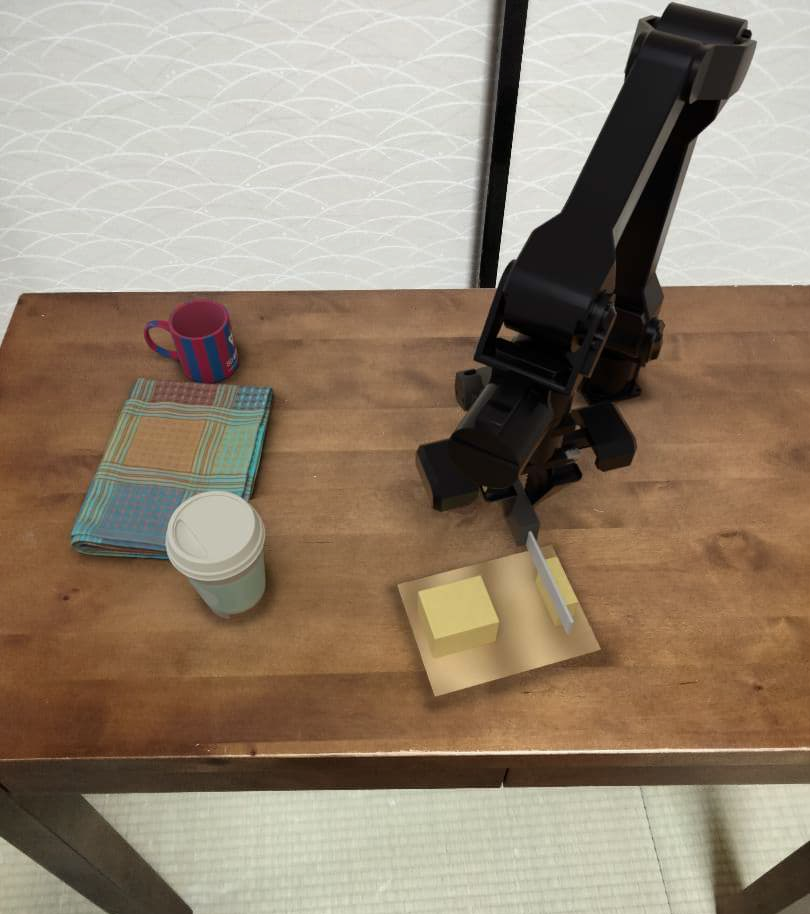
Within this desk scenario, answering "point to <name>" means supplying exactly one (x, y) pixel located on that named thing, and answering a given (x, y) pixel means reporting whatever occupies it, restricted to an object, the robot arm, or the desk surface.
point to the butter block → (457, 616)
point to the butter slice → (563, 588)
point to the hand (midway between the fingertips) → (515, 509)
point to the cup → (199, 340)
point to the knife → (535, 549)
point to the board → (501, 626)
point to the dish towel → (170, 461)
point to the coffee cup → (219, 550)
